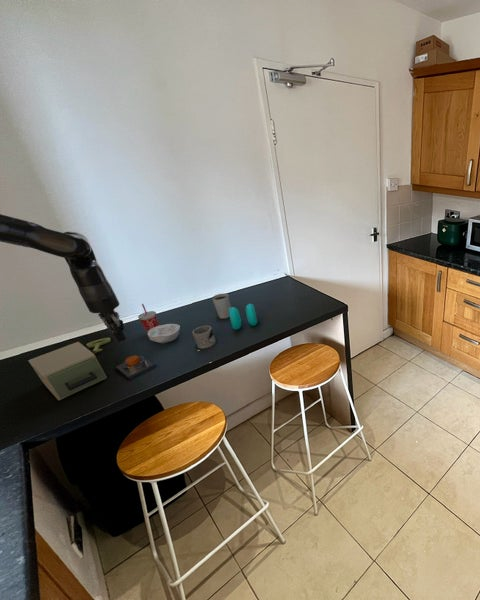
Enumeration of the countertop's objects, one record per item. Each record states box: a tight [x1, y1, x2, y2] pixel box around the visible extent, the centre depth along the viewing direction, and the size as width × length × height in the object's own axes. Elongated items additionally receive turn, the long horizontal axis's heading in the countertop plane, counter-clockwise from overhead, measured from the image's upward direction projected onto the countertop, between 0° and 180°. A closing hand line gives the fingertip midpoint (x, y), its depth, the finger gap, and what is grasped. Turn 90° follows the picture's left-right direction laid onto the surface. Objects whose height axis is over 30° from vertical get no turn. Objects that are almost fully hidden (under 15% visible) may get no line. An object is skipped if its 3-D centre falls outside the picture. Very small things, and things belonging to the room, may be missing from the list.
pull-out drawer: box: [47, 358, 106, 400], centre depth 104 cm, size 18×11×8 cm, turn 58°
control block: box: [115, 355, 156, 380], centre depth 113 cm, size 10×8×3 cm
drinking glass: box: [211, 293, 232, 319], centre depth 146 cm, size 7×7×10 cm
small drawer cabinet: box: [27, 341, 108, 401], centre depth 105 cm, size 15×13×10 cm
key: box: [86, 337, 112, 354], centre depth 125 cm, size 7×12×2 cm, turn 53°
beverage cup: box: [137, 303, 160, 334], centre depth 132 cm, size 6×6×14 cm
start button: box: [124, 355, 140, 366], centre depth 112 cm, size 4×4×2 cm
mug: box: [191, 324, 217, 350], centre depth 127 cm, size 10×7×7 cm
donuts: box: [229, 303, 259, 330], centre depth 137 cm, size 10×10×10 cm
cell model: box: [147, 323, 181, 344], centre depth 128 cm, size 10×12×7 cm
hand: (121, 340), depth 107 cm, fingers closed
